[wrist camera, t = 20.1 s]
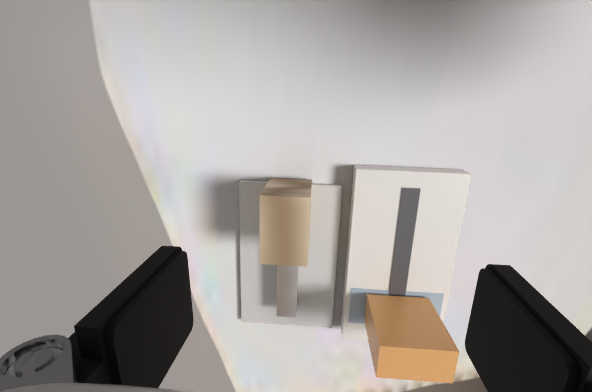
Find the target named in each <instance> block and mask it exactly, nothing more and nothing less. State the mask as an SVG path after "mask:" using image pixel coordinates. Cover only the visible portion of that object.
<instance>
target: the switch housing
mask: <svg viewBox="0 0 592 392" xmlns="http://www.w3.org/2000/svg"><path fill="white" fill-rule="evenodd" d="M470 179H471V174H470V173H468V172H466V171H464V170H462V169H439V168H416V167H392V166H369V165H354V171H353V183H352V195H351V207H350V220H349V232H348V244H347V256H346V268H345V280H344V292H343V305H342V317H341V332H342V338H350V339H364V340H368V336H367V331H366V327H365V322H364V317H365V307H366V298H367V294H373V295H389V296H404V297H420V298H429V299H430V301H431V302H432V304H433V306H434V308H435V310H436V311H437V313H438V315H439V317H440V318H441V320H442V322H443V324H444V318H445V313H446V308H447V302H448V297H449V292H450V286H451V281H452V276H453V270H454V265H455V260H456V254H457V249H458V244H459V238H460V233H461V227H462V222H463V217H464V211H465V206H466V201H467V195H468V190H469V185H470Z"/></svg>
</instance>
